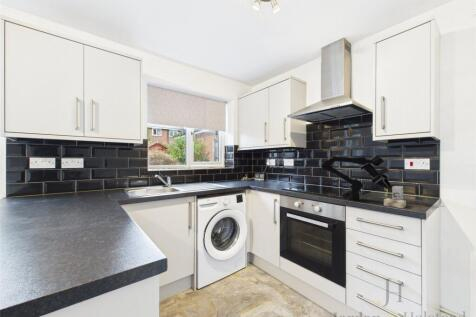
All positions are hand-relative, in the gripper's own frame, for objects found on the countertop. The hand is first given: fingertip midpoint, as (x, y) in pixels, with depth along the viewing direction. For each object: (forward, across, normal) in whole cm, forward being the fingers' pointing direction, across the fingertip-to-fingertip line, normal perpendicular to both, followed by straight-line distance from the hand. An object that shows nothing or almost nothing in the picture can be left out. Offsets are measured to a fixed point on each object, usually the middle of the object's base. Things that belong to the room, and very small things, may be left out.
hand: (390, 188), depth 141 cm
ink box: (+10, 0, +5) cm, 11 cm away
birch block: (+10, -8, +5) cm, 14 cm away
